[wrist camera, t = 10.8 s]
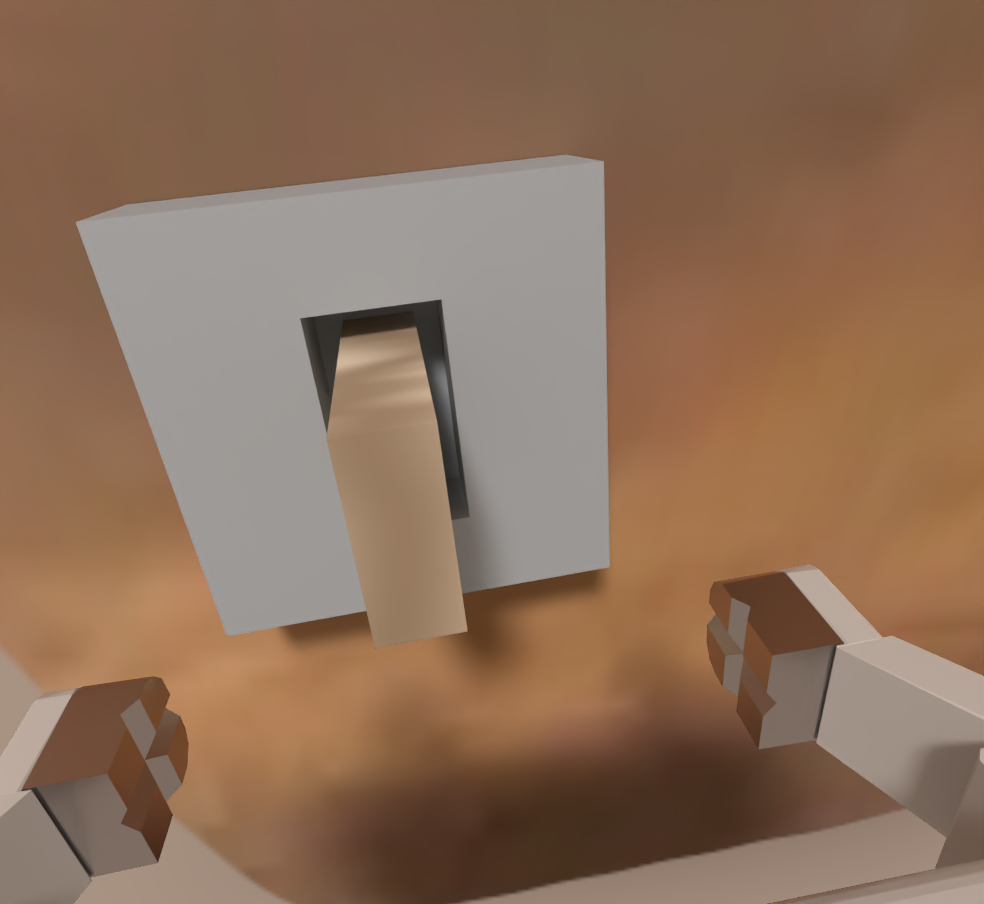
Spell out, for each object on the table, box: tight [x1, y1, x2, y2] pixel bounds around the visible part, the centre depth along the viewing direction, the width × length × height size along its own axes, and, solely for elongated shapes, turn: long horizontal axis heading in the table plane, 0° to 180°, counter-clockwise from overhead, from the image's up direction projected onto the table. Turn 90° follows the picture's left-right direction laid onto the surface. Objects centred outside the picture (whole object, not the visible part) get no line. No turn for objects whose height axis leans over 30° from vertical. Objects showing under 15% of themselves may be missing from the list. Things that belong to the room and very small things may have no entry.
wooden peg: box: [326, 311, 467, 649], centre depth 17 cm, size 2×5×8 cm, turn 6°
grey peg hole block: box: [76, 155, 610, 636], centre depth 19 cm, size 12×12×4 cm
